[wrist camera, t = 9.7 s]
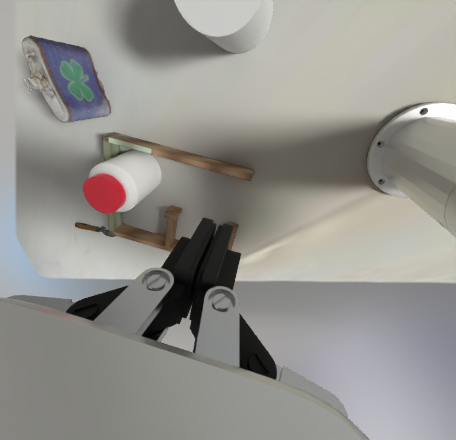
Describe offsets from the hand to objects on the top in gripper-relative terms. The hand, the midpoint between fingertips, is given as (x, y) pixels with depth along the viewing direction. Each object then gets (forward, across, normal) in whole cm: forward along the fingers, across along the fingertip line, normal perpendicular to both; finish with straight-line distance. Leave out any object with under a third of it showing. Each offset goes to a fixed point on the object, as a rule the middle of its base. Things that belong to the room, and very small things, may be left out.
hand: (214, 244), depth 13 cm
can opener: (+27, +28, +26) cm, 47 cm away
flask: (+27, +26, -2) cm, 38 cm away
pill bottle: (+27, +18, +10) cm, 34 cm away
